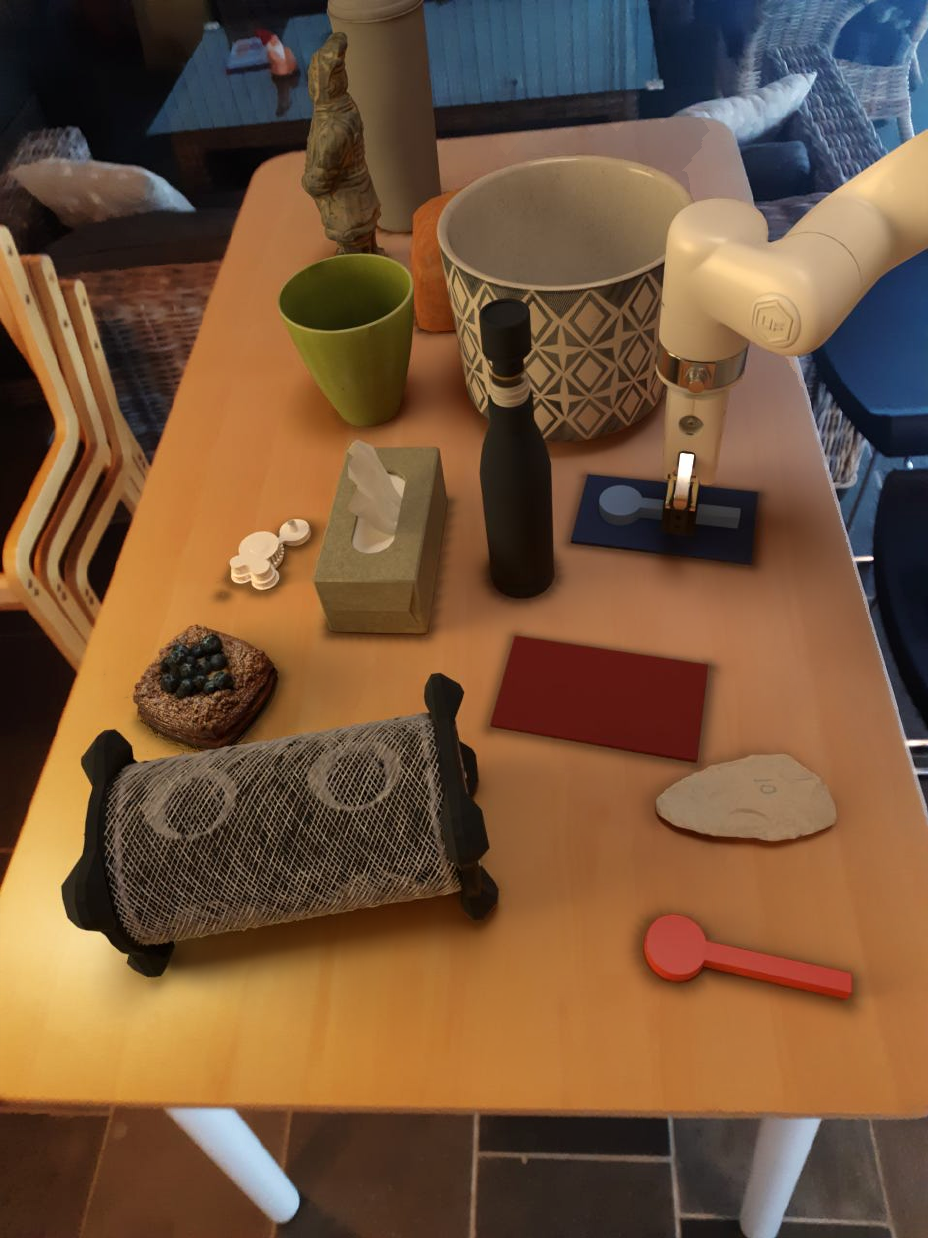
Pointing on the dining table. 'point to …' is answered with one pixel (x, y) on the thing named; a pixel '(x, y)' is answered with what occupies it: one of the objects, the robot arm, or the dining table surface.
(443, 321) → the bread
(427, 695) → the speaker
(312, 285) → the flower pot
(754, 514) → the navy mat
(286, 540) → the white lobed flat piece
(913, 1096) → the dining table surface
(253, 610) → the dining table surface
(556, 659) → the maroon mat
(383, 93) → the canister
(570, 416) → the planter
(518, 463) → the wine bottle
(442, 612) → the dining table surface
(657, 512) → the grey spoon
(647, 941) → the red spoon
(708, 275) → the robot arm
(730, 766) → the stone
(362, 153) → the statue
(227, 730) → the pastry
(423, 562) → the tissue box
